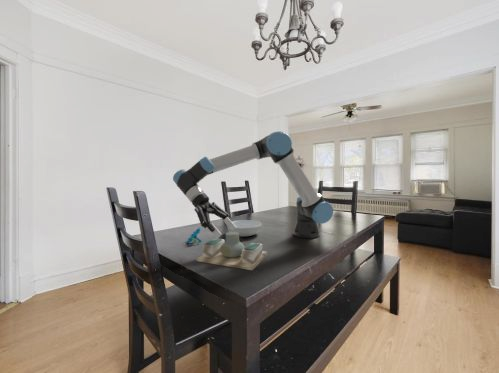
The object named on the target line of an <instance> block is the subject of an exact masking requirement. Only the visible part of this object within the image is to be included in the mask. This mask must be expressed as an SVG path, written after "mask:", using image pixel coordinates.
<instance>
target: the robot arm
mask: <svg viewBox="0 0 499 373" xmlns="http://www.w3.org/2000/svg"><path fill="white" fill-rule="evenodd" d="M292 144H293V142H292V139H291V137H290V135H289V134H288V133H287V132H284V131H274V132H271V133H270V134H268V135H266V136H264V137H263V138H261V139H259V140H257V141H255V142H253V143H252V144H251V145H249V146H246V147H243V148H240V149H236V150H235V151H234V150H233V151H230V152H227V153H225V154H222V155H219V156H215V157H213V158H209V157H207V156H204V157H202V158H201V159H199V160H198V161H197V162H196V163H195V164H194V165H192V166H191V167H190V168H188V169H187V170H186V169H179V170H177V171H176V172H175V173H174V174H173V176H172V180H173V182H174V183H175V185H176V187H178V189H179V190H180V191H181V192H182V193H183V194H184V196H185V197H186V198H187V199H188V201H189V202H190V203H191V204H192V205H193V206H194V209H193V210H194V212H195V213H196V214H197V218H198V221H199V223H200V226H201V227H202V228H204V229H206V228H207V229H208V230H209V231H210V232H211V233H212V234H213V236H214V237H215V238H216V239H220V237H221V236H222V235H223V234H222V233H221V231H220V230H219V229H218V227H216V226H215V224H214V223H213V222H211V218H210V217H211V216H210V214H211V215H215V216H217V217H218V218H220V219H222V220H223V221H222V222H224V223H225V225H226V227H227V226H228V227H229V228H230V229H231V230H232V231H233V230H234V229H235V228H236V226H235V225H234V224H233V223H232V220H231V219H230V218H229V216H230V214H229V213H228V212H227V211H226V210H224V209H222V208H221V207H220V206H219V205H218V204H216V202H214V201H213V202H210V198H209V196H208V195H207V194H206V193H205V192H204V190H203V189H202V188H201V187H200V186H199V185H198V183H199V182H201V181H202V180H203V179H204V178H205V177H207V176H209V175H212V174H214V173H218V172H221V171H223V170H227V169H229V168H232V167H235V166H238V165H241V164H244V163H246V162H247V163H248V162H249V161H250V162H251V161H253V160H255V159H256V160H257V161H258V160H262V159H266V158H271V160H272V162H273V163H274V164H277V165H279V166H280V169H281V170H282V171H283V174H284V175H285V176H286V178H287V179H288V181H289V183H290V184H291V186H292V187H293V188H294V190H295V192H296V193H297V195H298V197H297V198H296V223H295V226H294V229H293V236H295V237H298V238H303V239H315V238H318V237H320V235H321V234H320V233H321V232H320V229H319V225H318V224H323V225H324V224H326V223H328V222H330V220H331V219H332V217H333V214H334V208H333V205H332V204H331V203H330V202H328V201H326V200H325V199H324V197H323V195H322V194H321V193H318V192H316V190H315V187H314V186H313V185H312V183H311V182H310V180H309V178H308V176H307V175H306V174H305V172H304V170H303V169H302V167H301V165H300V164H299V162H298V160H297V159H296V157H295V155H294V153H295V150H294V148H293V147H292Z"/></svg>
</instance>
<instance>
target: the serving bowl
mask: <svg viewBox="0 0 499 373" xmlns="http://www.w3.org/2000/svg"><path fill="white" fill-rule="evenodd" d="M231 221H232V220H231ZM232 223H233V224H234V225H235V226H236V228H235V229H234V230H233V231H232V230H231V229H230V228H229V227H228V226H227V225H226V227H227V230H228V232H238V233H239V237H243V238H245V237H250V236H254V235H256V234H258V233H259V232H260V230H261V228H262V223H261V222H260V221H257V220H250V219H249V220H248V219H241V220H233V221H232Z"/></svg>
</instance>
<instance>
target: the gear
mask: <svg viewBox="0 0 499 373" xmlns="http://www.w3.org/2000/svg"><path fill="white" fill-rule="evenodd" d="M201 231H202V230H201V228H200V227H199V228H196V230H194V231H193V233H192V234H190V237H188V238H187V241H186V243H187V244H190V243H192V241H193V243H196V244H197V245H200V242H202V240H201V239H200V238H199V237H198V234H200V232H201Z"/></svg>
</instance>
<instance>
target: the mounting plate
mask: <svg viewBox="0 0 499 373" xmlns="http://www.w3.org/2000/svg"><path fill="white" fill-rule="evenodd" d="M225 242H226V239H223V238H218V239H217V238H216V237H215V238H213V239H211V240H208V241H207V242H205V243H204V244H202V247H201V248H202V255H200V256H199V257H196V258H195V261H196V262H199V263H206V264H210V265H211V264H212V265H218V266H222V267H223V266H224V267H231V268H234V269H241V270H248V271H253V270H254V269H255V268H256V267H257V266H258V265H260V263H261V262H262V261H263V260H264V259H265V258H266V257H267V256H268V251H265V250H263V243H256V242H251V243H249V245H246V246H245V248H244V249H243V250H242V255H240V256H238V257H233V258H228V257H226V256H224V255H223V254H222V253H221V251H220V247H221V245H222V244H223V243H225Z"/></svg>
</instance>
